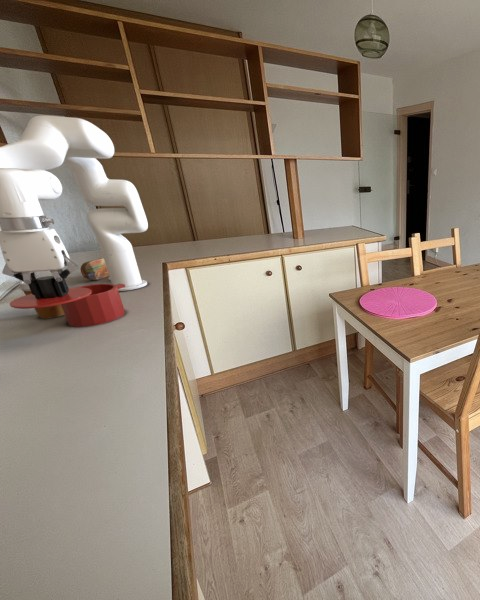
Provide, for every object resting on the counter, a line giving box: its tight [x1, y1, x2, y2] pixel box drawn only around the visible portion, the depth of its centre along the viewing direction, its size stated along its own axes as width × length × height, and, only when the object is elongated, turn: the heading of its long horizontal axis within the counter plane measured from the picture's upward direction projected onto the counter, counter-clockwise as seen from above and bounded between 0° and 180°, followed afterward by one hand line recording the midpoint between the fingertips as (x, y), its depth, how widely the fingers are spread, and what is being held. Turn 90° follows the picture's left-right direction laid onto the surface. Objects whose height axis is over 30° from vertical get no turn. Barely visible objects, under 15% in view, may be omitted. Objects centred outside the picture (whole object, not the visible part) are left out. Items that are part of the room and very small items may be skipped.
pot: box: [61, 283, 126, 328], centre depth 100 cm, size 14×19×10 cm
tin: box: [80, 257, 110, 281], centre depth 140 cm, size 15×3×8 cm, turn 179°
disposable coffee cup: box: [18, 276, 65, 319], centre depth 101 cm, size 10×10×12 cm
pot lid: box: [9, 275, 92, 310], centre depth 80 cm, size 15×15×6 cm
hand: (52, 295), depth 81 cm, fingers closed on pot lid, 3 cm apart
